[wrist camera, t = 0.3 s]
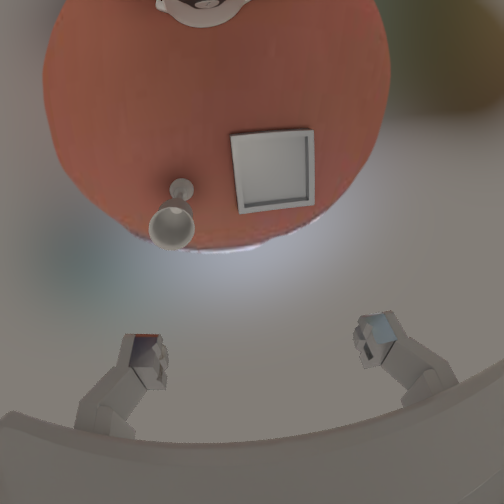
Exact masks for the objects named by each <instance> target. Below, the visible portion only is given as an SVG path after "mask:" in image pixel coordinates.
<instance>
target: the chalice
mask: <svg viewBox="0 0 504 504" xmlns="http://www.w3.org/2000/svg"><path fill="white" fill-rule="evenodd" d="M193 192H194V188H193V185H192V183H191V182H190V181H189V180H187V179H183V178H180V179H176V180H175V181H173V183H172V184H171V186H170V195H171V196H172V198H173V199H169V200H167V201H165V202H164V203H163V204H162V205H161V206H160V207H159V210H158V212H157V213H156V214H155V215H154V216H153V217H152V219H151V221H150V224H149V234H150V238H151V239H152V241H153V242H154V244H156V245H157V246H158V247H160V248H162V249H165V250H178V249H181V248H183V247H184V246H186V245H187V244H188V243H189V242H190V241H191V239H192V237H193V235H194V230H195V226H194V221H193V219H192V217H193V213H192V209H191V207H190V205H189V204H188V203H187V202H186V201H187V200H188V199H190V198H191V197H192V195H193Z"/></svg>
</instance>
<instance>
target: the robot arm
mask: <svg viewBox="0 0 504 504" xmlns="http://www.w3.org/2000/svg"><path fill="white" fill-rule="evenodd" d="M249 1H251V0H162V1H161V0H156V8H157V9H158V10H160V11H162V12H166V13H169V14H170V15H171V16H173V17H174V18H175V19H176V20H177V21H179V22H180V23H182V24H185V25H187V26H191V27H199V28H204V27H212V26H216V25H219V24H222V23H224V22H226V21H228V20H230V19H231V18H232V17H234V16H235V15H236V14H237V12H238V11H239V10H240V8H241V7H242V6H243V5H244V4H246V3H247V2H249ZM358 323H359V325H358V326H357V327H356V328H355V330H354V333H353V340H354V344H355V347H356V349H357V350H358V351H360V352H361V353H360V356H359V357H360V360H361V362H362V365H363V368H364V369H367V368H371V367H376V366H380V365H381V367H382V368H383V369H384V370H385V371H386V372H388V373H389V374H390V375H391V376H392V377H393V378H394V379H395V380H397V381H398V382H399V383H400V384H401V385H402V386H403V387H405V388H406V389H407V390H408V391H407V392H406V393H405V395H404V396H403V397H402V398H401V402H402V405H403V408H401V409H398V410H395V411H392V412H389V413H386V414H383V415H380V416H377V417H374V418H370V419H367V420H364V421H360V422H357V423H353V424H349V425H345V426H341V427H337V428H332V429H328V430H323V431H318V432H313V433H308V434H302V435H296V436H290V437H283V438H275V439H268V440H258V441H246V442H230V443H172V442H156V441H145V440H136V439H135V432H136V431H135V430H134V428H132V427H131V426H130V425H129V424H128V423H127V422H126V420H127V418H128V417H129V416H130V414H131V413H132V411H133V410H134V408H135V407H136V405H137V404H138V403H139V402H140V400H141V399H142V397H143V396H144V395H145V393H146V392H147V390H166V384H167V375H166V373H165V370H166V369H167V368H168V363H169V359H168V351H167V348H166V346H165V345H163V344H162V343H163V338H162V336H161V335H159V334H158V335H156V334H155V335H154V334H125V335H124V337H123V340H122V344H121V348H120V352H119V356H118V361H117V365H116V367H112V368H111V369H110V370H109V371H108V372H107V373H106V374H105V375H104V376H103V377H102V378H101V380H99V382H98V383H97V384H96V385H95V386H94V387H93V388H92V389H91V390H90V391H89V392H88V393H87V394H86V395H85V396H84V397H83V398H82V399H81V400H80V402H79V407H78V410H77V415H76V420H75V425H74V429H73V428H69V427H65V426H61V425H57V424H54V423H51V422H47V421H44V420H41V419H37V418H34V417H31V416H28V415H26V414H23V413H20V412H17V411H10V412H8V413H6V414H5V415H4V416H3V417H2V418H1V419H0V504H504V359H502V360H500V361H498V362H497V363H495V364H493V365H492V366H490V367H488V368H487V369H485V370H483V371H481V372H480V373H478V374H476V375H474V376H472V377H471V378H469V379H467V380H465V381H463V382H461V383H459V382H458V380H457V378H456V377H455V375H454V373H453V371H452V369H451V367H450V365H449V363H448V362H447V361H446V360H445V359H443V358H442V357H440V356H439V355H437V354H436V353H434V352H432V351H431V350H429V349H428V348H426V347H425V346H423V345H422V344H420V343H419V342H417V341H416V340H414V339H413V338H411V337H409V338H408V337H407V335H406V333H405V331H404V330H403V328H402V326H401V324H400V323H399V321H398V319H397V317H396V316H395V314H394V312H393V311H391V310H390V311H385V312H378V313H373V314H368V315H363V316H360V318H359V319H358Z"/></svg>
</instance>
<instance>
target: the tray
mask: <svg viewBox="0 0 504 504" xmlns="http://www.w3.org/2000/svg"><path fill="white" fill-rule="evenodd" d="M230 143H231V153H232V162H233V171H234V180H235V189H236V197H237V206H238V211H239V214H245V213H253V212H260V211H268V210H276V209H284V208H292V207H300V206H309V205H314V197H315V166H314V130H312V129H309V128H305V129H285V130H270V131H258V132H247V133H238V134H230Z"/></svg>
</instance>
